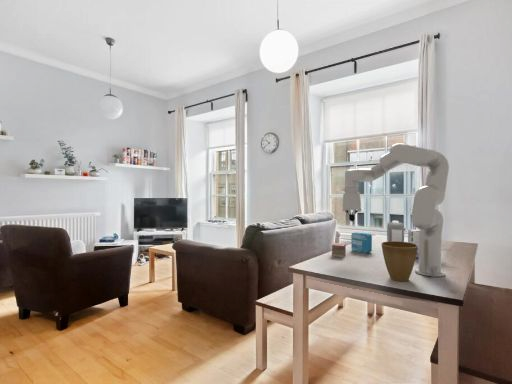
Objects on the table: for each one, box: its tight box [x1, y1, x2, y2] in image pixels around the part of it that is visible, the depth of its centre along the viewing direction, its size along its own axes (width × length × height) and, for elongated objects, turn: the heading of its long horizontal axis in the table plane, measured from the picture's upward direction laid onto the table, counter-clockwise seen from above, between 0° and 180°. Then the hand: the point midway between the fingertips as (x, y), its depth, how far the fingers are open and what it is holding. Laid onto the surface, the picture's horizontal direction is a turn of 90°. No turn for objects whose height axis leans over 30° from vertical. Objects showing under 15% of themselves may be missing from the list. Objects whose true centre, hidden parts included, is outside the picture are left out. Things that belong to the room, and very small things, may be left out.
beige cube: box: [331, 242, 347, 258], centre depth 181 cm, size 7×7×7 cm
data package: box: [350, 231, 373, 254], centre depth 193 cm, size 12×4×12 cm, turn 41°
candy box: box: [407, 229, 420, 260], centre depth 176 cm, size 14×6×16 cm, turn 84°
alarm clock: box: [386, 220, 405, 242], centre depth 192 cm, size 18×8×20 cm, turn 161°
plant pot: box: [381, 241, 418, 282], centre depth 135 cm, size 15×15×16 cm
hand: (351, 221), depth 177 cm, fingers closed
